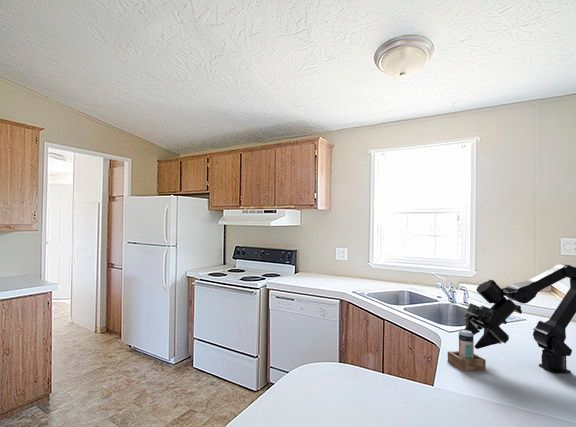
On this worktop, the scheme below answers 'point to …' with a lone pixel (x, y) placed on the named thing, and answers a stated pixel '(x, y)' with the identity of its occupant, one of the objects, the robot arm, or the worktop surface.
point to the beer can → (466, 344)
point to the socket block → (466, 362)
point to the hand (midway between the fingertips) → (468, 343)
